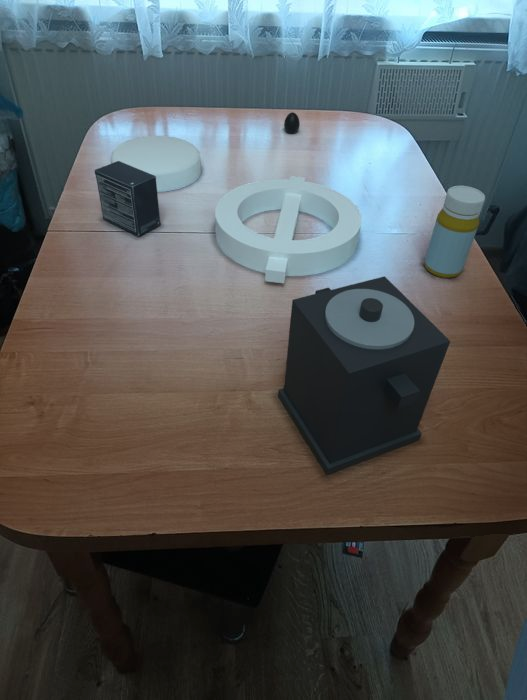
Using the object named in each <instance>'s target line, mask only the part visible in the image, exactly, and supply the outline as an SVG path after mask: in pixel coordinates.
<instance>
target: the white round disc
mask: <svg viewBox="0 0 527 700" xmlns="http://www.w3.org/2000/svg"><path fill="white" fill-rule="evenodd" d="M117 161H120V162H123V163H125V164H127V165H130V166H132V167H135V168H137V169H140V170H142V171H144V172H147V173H149V174H152V175H154V176H156V185H157V193H164V192H172V191H176V190H177V191H178V190H179V189H183V188H185V187H188V186H190V185H192V184H193V183H195V182H196V181H198V179H199V178H200V176H201V174H202V169H201V167H202V166H201V152H200V150H199V149H198V148H197V146H195V144H193V143H191V142H189V141H188V140H186V139H183V138H179V137H176V136H168V135H146V136H145V135H144V136H139V137H135V138H131V139H128V140H125V141H124V142H122V143H120V144H118V145H117V146H116V147H115V148H114V150H112V151H111V155H110V164H112V163H114V162H117Z"/></svg>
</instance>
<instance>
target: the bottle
mask: <svg viewBox="0 0 527 700" xmlns="http://www.w3.org/2000/svg"><path fill="white" fill-rule="evenodd" d="M485 201H486V195H485V194H484V192H482V191H481V190H480V189H477V188H475V187H472V186H467V185H454V186H451V187H449V188H448V190H447V191H446V195H445V197H444V202H443V206H442V208H441V210H440V211H439V212H438V213H437V216H436V219H435V223H434V227H433V230H432V233H431V236H430V240H429V242H428V243H429V244H428V247H427V250H426V254H425V257H424V261H423V265H424V266H425V269H426V270H427V271H428V272H429V273H430V274H431V275H433V276H434V277H439V278H442V279H452V278H456V277H458V276H459V275H460V274H462V272H463V270H464V267H465V265H466V262H467V260H468V256H469V253H470V251H471V248H472V246H473V242H474V240H475V238H476V234H477V231H478V230H479V229H478V228H479V225H480V215H481V211H482V209H483V206H484V203H485Z"/></svg>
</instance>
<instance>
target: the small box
mask: <svg viewBox="0 0 527 700" xmlns="http://www.w3.org/2000/svg"><path fill="white" fill-rule="evenodd" d="M94 175H95V179H96V184H97V185H96V186H97V190H98V195H99V201H100V206H101V207H100V208H101V215H102V220H103V221H106V222H107V223H109V224H111V225H114V226H115V227H118V228H119V229H122V230H123V231H126V232H128V233H130V234H132V235H134V236H135V237H141V236H143V235H145V234H147V233H149V232H150V231H152V230H154V229H156V228H158V227H160V226H161V225H162V224H161V217H160V206H159V196H158V192H157V185H156V176H154V175H152V174H149V173H147V172H144V171H142V170H140V169H137V168H135V167H132V166H130V165H127V164H125V163H123V162H120V161H117V162H114V163H112V164H111V163H109V164H107V165H104V166H101V167H99V168H98V167H97V168H96V169H94Z"/></svg>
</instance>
